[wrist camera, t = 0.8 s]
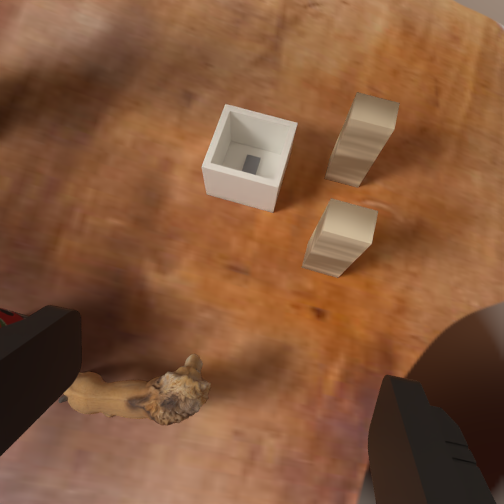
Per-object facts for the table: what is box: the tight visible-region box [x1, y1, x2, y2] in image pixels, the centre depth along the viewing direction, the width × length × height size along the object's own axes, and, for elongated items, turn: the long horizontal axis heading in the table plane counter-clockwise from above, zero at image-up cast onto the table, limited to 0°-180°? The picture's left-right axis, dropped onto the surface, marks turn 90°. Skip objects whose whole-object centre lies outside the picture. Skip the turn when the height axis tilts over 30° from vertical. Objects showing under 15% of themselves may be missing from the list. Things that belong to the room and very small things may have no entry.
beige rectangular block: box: [325, 92, 400, 188], centre depth 40 cm, size 3×4×11 cm
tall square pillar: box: [302, 198, 378, 278], centre depth 36 cm, size 3×4×11 cm
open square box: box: [202, 104, 298, 213], centre depth 41 cm, size 8×8×6 cm
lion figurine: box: [59, 354, 211, 425], centre depth 32 cm, size 15×5×9 cm, turn 96°
